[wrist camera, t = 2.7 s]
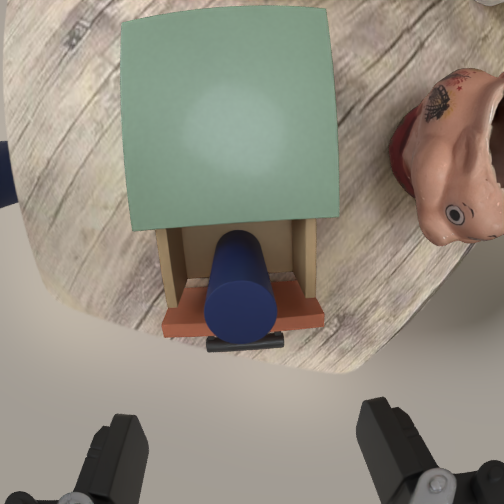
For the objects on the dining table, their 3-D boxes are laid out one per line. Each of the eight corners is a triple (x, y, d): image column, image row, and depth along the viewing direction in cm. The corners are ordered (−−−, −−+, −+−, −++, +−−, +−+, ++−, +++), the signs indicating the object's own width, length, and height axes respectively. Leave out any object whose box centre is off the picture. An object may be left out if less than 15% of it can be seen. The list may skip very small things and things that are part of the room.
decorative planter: (422, 37, 23) (508, -1, 10) (493, 107, 26) (581, 106, 12) (342, 190, 28) (423, 223, 15) (427, 249, 30) (513, 303, 17)
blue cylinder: (217, 275, 28) (208, 346, 17) (213, 231, 27) (199, 282, 16) (262, 272, 28) (278, 341, 18) (260, 228, 27) (276, 277, 16)
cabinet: (310, 198, 28) (339, 217, 20) (160, 208, 28) (131, 231, 20) (301, 45, 24) (326, 8, 16) (151, 55, 23) (121, 22, 15)
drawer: (305, 326, 31) (321, 367, 25) (183, 335, 31) (173, 377, 24) (304, 145, 26) (325, 144, 19) (160, 156, 25) (136, 157, 19)
